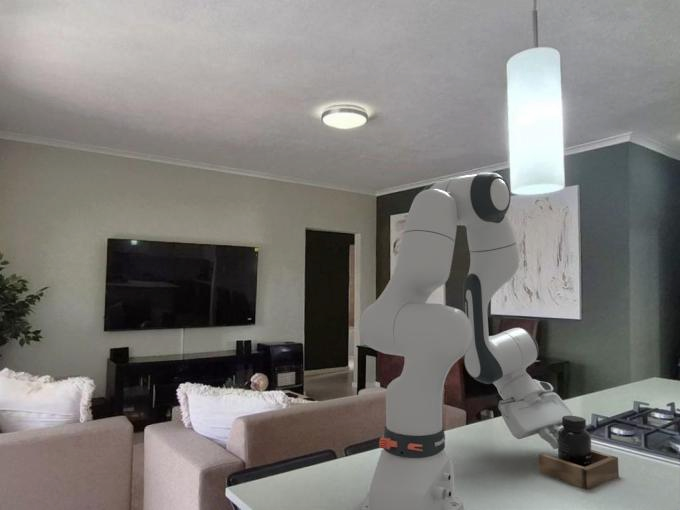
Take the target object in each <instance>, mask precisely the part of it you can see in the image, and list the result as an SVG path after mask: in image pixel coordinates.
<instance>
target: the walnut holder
mask: <svg viewBox="0 0 680 510" xmlns="http://www.w3.org/2000/svg"><path fill="white" fill-rule="evenodd" d="M591 458H592V464H591V465H589V466H586V467H583V466H580V465H576V464H573V463H570V462H567V461H564V460H561V459H558V457H555V456H551V455H548V454H546V453H545V454H544V453H539V454H538V473H539V472H540V473H539V474H541V473H542V475H544V474H545V476H547V475H548V476H547V477H550V478H552V479H553V478H554V479H556V480H558V481H561V482H563V483H567V484H569V485H573V486H576V487H578V488H581V489H584V490H587V491H589V490H591V489H593V488H595V487H597V486H601V485H602V484H605V483H606V482H608V481H610V480H612V479H615V478H618V477H619V474H620V471H619V457H617V456H615V455H611V454H608V453H604V452H600V451H597V450H594V449H591Z"/></svg>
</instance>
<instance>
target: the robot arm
mask: <svg viewBox="0 0 680 510" xmlns="http://www.w3.org/2000/svg"><path fill="white" fill-rule="evenodd" d="M510 204H511V191H510V187H509V185H508V183H507V181H506V180H505V178H503V176H501V175H500V174H498V173H496V172H485V171H484V172H479V173H477V174H469V175H463V176H455V177H451V178H447V179H445V180H442V181H439V182H433V183H430V184H429V185H427V186H425V187H424V188H423V189H422V190H421V191H420V192H419V193H417V195H416V196H415V197H414V198H413V200H412V203H411V205H410V209H409V210H408V213H407V215H406V221H405V223H404V227H403V232H402V237H401V242H400V246H399V250H398V255H397V259H396V264H395V267H394V269H393V273H392V275H391V277H390V278H389V279H390V280H389V281H388V283H387V284H386V285H385V288H384V290H383V291H382V292H381V294H380V295H379V296H378V298H377V299H376V300H375V301H374V302H373V303H372V304H370V305H369V306H368V307H366V308H365V309H364V310H363V312H362V313H361V316H360V318H359V322H358V331H359V336H360V339H361V341H362V343H364V345H366V346H367V347H369V348H371V349H373V350H374V351H376V352H377V351H378V352H380V353H382V354H385V355H391V356H399V357H404V364H403V368H402V371H401V374H400V375H399V376H398V377H396V378H394V379H393V380H392V381H391V382H390V383H389V384H388V385H387V387H386V390H385V412H386V413H385V421H386V424H385V425H384V430H383V434H382V436H381V437H380V438H379V442H378V444H379V449H381V450H380V455H379V458H378V461H377V464H376V466H375V470H374V473H373V476H372V480H371V483H370V486H369V491H368V493H367V495H366V497H365V499H364V502H363V504H362V506H361V508H360V510H462V509H463V510H464V502H463V501H462V500H461V499H460V498H458V497H457V496H456V489H455V477H454V476H455V475H454V465H453V461H452V459H451V458H450V457H449V456H448V455H447V453H446V451H445V448H446V434H445V428H444V426H443V393H444V392H443V391H444V386H445V382H446V379H447V376H448V374H449V372H450V370H451V369H452V367H453V366H454V365H455V363H457V362H458V361H460V359H461V358H463V364H464V368H465V370H466V372H467V373H468V375H469V376H470V377H471V378H473V379H474V380H476V381H478V382H480V383H483V384H485V385H491V384H493V385H494V386H495V387H496V389H497V392H498V394H499V396H500V397H501V399H500V400H499V402H498V406H497V408H498V410H499V411H500V413H501V417H502V419H503V421H504V423H505V425H506V427H507V428H508V430H509V432H510V433H511V435H512V436H513V437H514V438H516V439H517V440H521V439H524V438H527V437H532V436H534V435H537V434H538V435H539V437H540V438H541V439H542V440H544V441H545V442H547V443H548V444H549V445H550V446H551V448H552V449H553V450H556V449H557V450H558V431H559V430H560V429H561V428H560V427H563V426H562V417H563V416H573V413H572V411H571V409H570V408H569V406H568V405H567V404H566V402H565V401H564V400H563V399H562V398H561V397H560V395H558V393H556V392H554V387H553V385H552V384H551V383H549V382H545V381H542V380H541V381H540V380H538V379H535V378H532V376H531V375H530V374H529V373H528V372H527V368H528V367H531V365H532V364H534V363H535V362H536V361H537V359H538V357H539V351H540V350H539V349H540V348H539V344H538V342H537V340H536V338H535V337H534V336H533V335H532V334H531V333H530V332H529V331H528V330H527V329H525V328H523V327H512V328H510V329H508V330H504V331H502V332H499V333H497V334H495V335H489V321H488V319H489V318H488V308H489V305H490V304H489V303H490V302H491V300H492V298H493V297H494V295H495V294H496V293H498V291H499V290H500V289H501V288H502V287H503V286H505V284H506V283H508V282H509V281H510V280H511V279H513V277H514V276H515V274H516V272H517V271H518V269H519V267H520V251H519V246H518V242H517V236H516V232H515V229H514V226H513V223H512V220H511V217H510V215H509V213H508V211H509V208H510ZM457 226H462V227H463V226H465V228H466V236H467V244H468V250H469V254H470V255H469V258H470V259H469V260H470V263H469V270H468V273H467V276H466V277H465V278H464V280H463V284H462V285H463V286H462V300H463V301H462V302H463V303H462V305H463V310H461V309H459V308H456V307H453V306H449V305H445V304H442V303H429V302H427V301H428V299H429V298H430V296H431V295H432V294H433V293H434V291H436V290H437V289H439V288H440V287H442V286H443V285H445V284H446V283H447V281H448V279H449V277H450V274H451V270H452V269H451V268H452V262H453V255H454V250H455V246H456V245H455V244H456V237H457V229H458V227H457Z"/></svg>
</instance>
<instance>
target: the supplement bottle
mask: <svg viewBox="0 0 680 510" xmlns="http://www.w3.org/2000/svg"><path fill="white" fill-rule="evenodd" d="M559 429H560V430H559V431H558V448H557V458H558V459H561V460H564V461H567V462H570V463H573V464H576V465H580V466H583V467H586V466H589V465H591V464H592V458H591V450H592V436H591V434H590V433H589V432H588V431H587V430H586V429H587V421H586V419H585V418H583V416H582V417H581V416H577V415H572V416H563V417H562V426H561V428H559Z"/></svg>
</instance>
